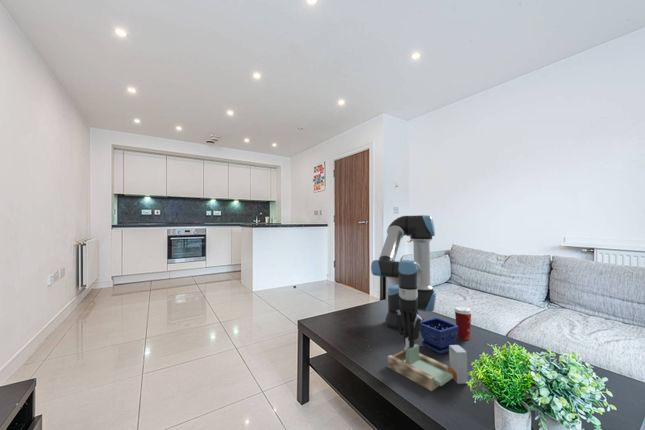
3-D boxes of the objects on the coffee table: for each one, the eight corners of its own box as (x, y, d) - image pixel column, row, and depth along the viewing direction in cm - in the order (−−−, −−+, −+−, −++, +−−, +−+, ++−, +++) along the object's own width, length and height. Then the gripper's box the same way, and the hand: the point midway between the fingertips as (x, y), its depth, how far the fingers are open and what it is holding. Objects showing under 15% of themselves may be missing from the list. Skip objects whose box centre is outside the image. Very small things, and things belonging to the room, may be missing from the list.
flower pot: (440, 358, 119) (440, 331, 119) (417, 345, 131) (417, 321, 131) (459, 351, 125) (459, 325, 125) (436, 339, 137) (435, 316, 137)
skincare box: (449, 374, 106) (448, 344, 106) (459, 374, 106) (458, 344, 107) (457, 384, 100) (456, 352, 100) (468, 383, 100) (467, 352, 100)
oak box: (387, 367, 112) (387, 356, 112) (406, 357, 120) (406, 347, 120) (431, 391, 96) (431, 378, 96) (449, 378, 104) (449, 366, 104)
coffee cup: (474, 341, 134) (474, 311, 134) (457, 340, 136) (456, 311, 136) (469, 334, 142) (468, 306, 143) (452, 333, 144) (452, 305, 144)
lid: (400, 365, 110) (400, 347, 110) (413, 358, 115) (412, 341, 115) (441, 386, 96) (440, 366, 96) (453, 377, 100) (452, 358, 101)
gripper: (390, 295, 115) (391, 350, 114) (416, 303, 104) (417, 363, 104) (401, 292, 119) (401, 345, 119) (427, 299, 109) (428, 357, 108)
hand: (409, 353), depth 111 cm, fingers closed
